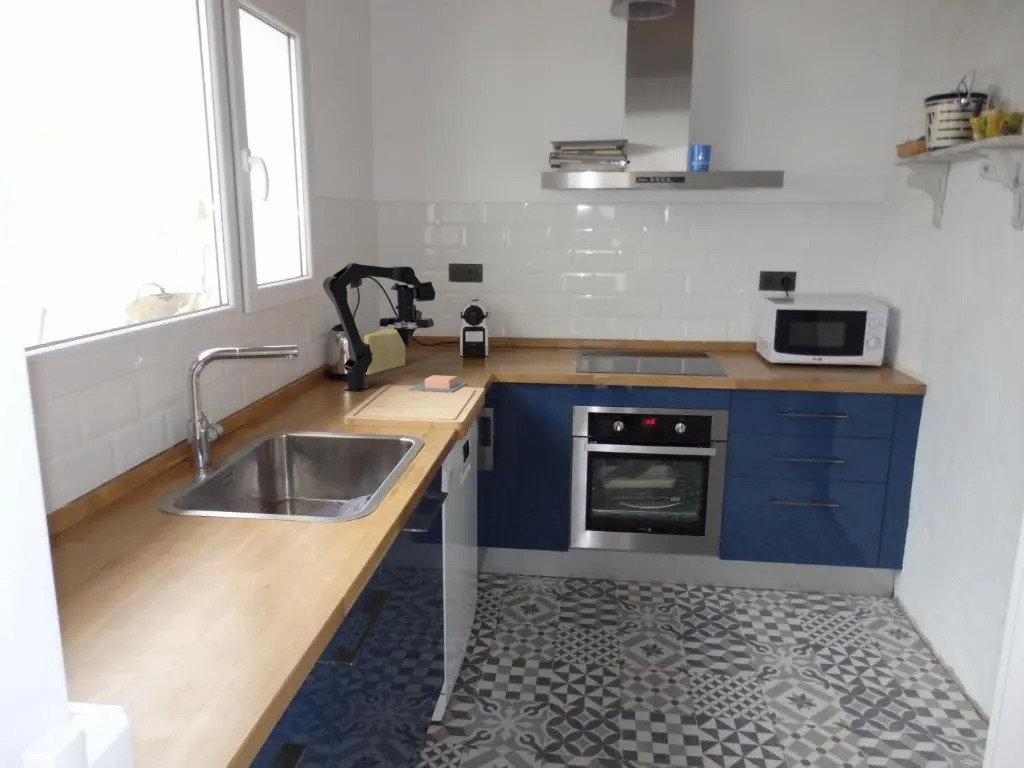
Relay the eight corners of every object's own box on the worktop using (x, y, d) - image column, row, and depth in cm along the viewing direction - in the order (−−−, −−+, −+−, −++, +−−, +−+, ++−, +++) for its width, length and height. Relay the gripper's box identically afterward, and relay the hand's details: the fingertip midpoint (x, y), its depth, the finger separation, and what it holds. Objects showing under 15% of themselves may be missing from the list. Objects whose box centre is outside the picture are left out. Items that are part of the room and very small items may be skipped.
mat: (452, 392, 251) (452, 391, 251) (408, 390, 256) (408, 389, 256) (467, 384, 264) (467, 383, 264) (425, 382, 269) (425, 381, 269)
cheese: (378, 376, 282) (375, 336, 279) (355, 374, 286) (353, 335, 283) (406, 365, 302) (405, 328, 299) (385, 364, 306) (383, 327, 303)
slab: (425, 387, 258) (449, 388, 255) (424, 379, 257) (449, 380, 254) (433, 383, 264) (457, 384, 262) (433, 375, 264) (456, 376, 261)
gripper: (439, 301, 267) (441, 344, 270) (392, 299, 273) (394, 342, 276) (425, 304, 257) (427, 349, 260) (377, 302, 263) (379, 347, 266)
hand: (407, 346), depth 266 cm, fingers closed
